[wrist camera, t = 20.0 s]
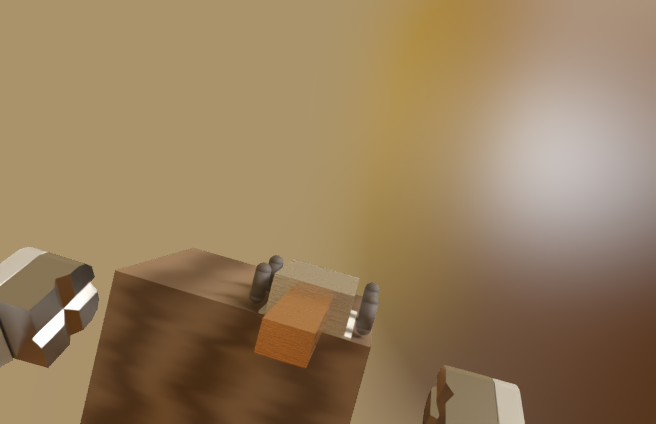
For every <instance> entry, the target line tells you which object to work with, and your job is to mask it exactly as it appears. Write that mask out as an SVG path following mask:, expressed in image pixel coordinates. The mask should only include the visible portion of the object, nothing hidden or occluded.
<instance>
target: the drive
mask: <svg viewBox="0 0 656 424" xmlns="http://www.w3.org/2000/svg"><path fill="white" fill-rule="evenodd" d="M359 279H360V278H359V277H355V276H352V275H348V274H345V273H341V272H337V271H334V270H330V269H327V268H323V267H320V266H316V265H313V264H309V263H306V262H302V261H298V260H295V259H294V260H292V261H291V262H289V263H288V264H287V265H285V266H284V267H283V268H281V269H280V270H279V271H277V272H276V273H275V274H274V278H273V282H272V286H271V290H270V294H269V298H268V302H267V306H266V310H265V313H267V314H266V315H265V316H264V317H263V318H262V322H261V326H260V330H259V334H258V338H257V342H256V346H255V350H254V353H257V354H260V355H263V356H267V357H270V358H273V359H276V360H280V361H283V362H286V363H289V364H292V365H296V366H299V367H302V368H305V369H306V368H307V365H308V363H309V361H310V359H311V356H312V354H313V352H314V350H315V347H316V345H317V343H318V340H319V338H320V336H321V334H322V331H323V330H324V331H327V332H331V333H334V334H337V335H341V336H344V334H345V331H346V327H347V324H348V320H349V316H350V313H351V309H352V305H353V302H354V298H355V294H356V290H357V287H358V283H359Z"/></svg>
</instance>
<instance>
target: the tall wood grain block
mask: <svg viewBox="0 0 656 424" xmlns="http://www.w3.org/2000/svg"><path fill="white" fill-rule="evenodd" d="M282 266H283V260H282V258H281V257H280V256H277V255H275V256H273V257H271V258H270V260H269V264H267V263H260V264H259V265H258V266H254V265H250V264H247V263H244V262H241V261H237V260H233V259H230V258H226V257H223V256H219V255H216V254H213V253H209V252H206V251H202V250H199V249H195V248H191V249H188V250H184V251H181V252H178V253H174V254H171V255H167V256H163V257H160V258H157V259H153V260H150V261H147V262H143V263H139V264H136V265H133V266H129V267H126V268H122V269H119V270H115V273H114V278H113V282H112V287H111V291H110V295H109V300H108V304H107V309H106V314H105V318H104V322H103V326H102V331H101V335H100V340H99V344H98V349H97V353H96V357H95V362H94V366H93V370H92V375H91V379H90V384H89V388H88V393H87V397H86V401H85V406H84V410H83V415H82V419H81V423H80V424H350V421H351V417H352V413H353V410H354V406H355V403H356V399H357V395H358V391H359V388H360V384H361V381H362V377H363V373H364V370H365V366H366V362H367V359H368V355H369V351H370V348H371V338H372V327H373V322H374V318H375V315H376V311H377V307H378V304H379V301H378V294H379V287H378V285H377V284H375V283H369V284H367V285H366V287H365V290H364V294H363V297H361V296H358V295H355V298H354V302H353V305H352V309H351V313H350V316H349V320H348V324H347V327H346V331H345V334H344V336H341V335H337V334H334V333H331V332H327V331H324V330H323V331H322V334H321V336H320V338H319V340H318V343H317V345H316V347H315V350H314V352H313V354H312V356H311V359H310V361H309V363H308V365H307V368H306V369H305V368H302V367H299V366H296V365H292V364H289V363H286V362H283V361H280V360H276V359H273V358H270V357H267V356H263V355H260V354H257V353H254V350H255V346H256V342H257V338H258V334H259V330H260V326H261V322H262V318H263V317H264V316H265V315H266V314H267V313H265V310H266V306H267V302H268V298H269V294H270V290H271V286H272V282H273V278H274V274H275V273H276V272H277V271H279V270H280V269H281V268H282Z"/></svg>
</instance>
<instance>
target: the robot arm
mask: <svg viewBox="0 0 656 424" xmlns="http://www.w3.org/2000/svg"><path fill="white" fill-rule="evenodd" d="M94 277H95V276H94V273H93V269H92V266H90V265H87V264H85V263H81V262H78V261H75V260H72V259H68V258H65V257H62V256H59V255H56V254H52V253H49V252H46V251H42V250H39V249H36V248H32V247H26V248H22V249H20V250H18V251H17V252H16V253H14V254H13V255H11V256H10V257H9V258H8V259H6V260H5V261H3V262H2V263H1V264H0V367H1V366H2V365H5V364H6V363H9V362H10V361H12V360H13V358H15V359H19V360H22V361H26V362H29V363H33V364H36V365H40V366H44V367H47V368H48V367H49V366H50V365H51V364H52V363H53V362H54V361H55V360H56V359H57V358H58V357H59V356H60V355H61V354H62V352H63V351H64V350H65V349H66V348H67V347H68V346H69V345H70V335H72V334H75V333H77V332H79V331H81V330H84V328H85V327H86V326H87V325H88V324H89V323H90V322H91V321H92V319H93V317H94V315H95V313H96V311H97V309H98V301H99V297H98V291H97V290H96V289H95V288H94V286H93V285H92V284H91V283H90V282H91V281H92V280H93V278H94ZM423 424H525V421H524V415H523V409H522V402H521V396H520V390H519V388H518V387H517V385H514V384H511V383H507V382H504V381H500V380H497V379H493V378H490V377H487V376H484V375H480V374H476V373H472V372H469V371H465V370H461V369H458V368H454V367H450V366H446V365H443V366H442V367H441V368H440V371H439V373H438V375H437V386H435V387H433V388H431V391H430V393H429V396H428V398H427V402H426V406H425V409H424V416H423Z"/></svg>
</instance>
